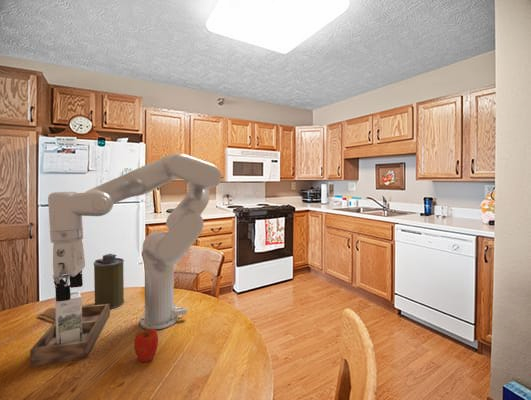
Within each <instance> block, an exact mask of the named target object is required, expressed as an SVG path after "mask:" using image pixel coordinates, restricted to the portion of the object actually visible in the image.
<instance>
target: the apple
mask: <svg viewBox="0 0 531 400" xmlns="http://www.w3.org/2000/svg"><path fill="white" fill-rule="evenodd" d="M133 339H134V340H133V347H134V353H135V355H136V358H137V359H138V360H139V361H141V362H143V363H147V362H150V361H151V360H153V359H154V357H155V356H156V353H157V349H158V344H159V335H158V332H157V331H156V329H155V330H152V329H145V330H142V331H140V332H138V333H136V335H135V337H134V338H133Z"/></svg>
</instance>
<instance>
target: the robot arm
mask: <svg viewBox="0 0 531 400" xmlns="http://www.w3.org/2000/svg"><path fill="white" fill-rule="evenodd" d="M222 175H223V174H222V172H221V169H219V167H217V165H215V164H212V163H210V162H207V161H204V160H201V159H198V158H196V157H194V156H191V155H188V154H186V153H179V152H178V153H173V154H168V155H165V156H162V157H161V158H158V159H156V160H154V161H151V162H149V163H147V164H144V165H143V166H140V167H138V168H136V169H134V170H131V171H129V172H126V173H124V174H123V175H120V176H118V177H116V178H113V179H111V180H109V181H107V182H104V183H102V184H100V185H98V186H95V187H92V188H91V189H88V190H86V191H85V192H76V191H57V192H56V191H55V192H51V193H50V194H48V196H47V204H48V205H47V206H48V218H49V219H48V221H49V235H50V236H49V237H50V240H49V241H50V243H51V244H53V245H52V246H53V247H52V271H53V273H52V278H53V284H54V288H55V295H56V301H66V300H70V298H71V296H70V292H71V289H72V288H81V287H83V283H84V282H83V269H85V266H86V263H85V253H84V252H85V250H84V244H83V239H84V235H83V234H84V230H83V217H102V216H105V215H107V214H109V213H110V212H111V211H112V209H113V207H114V205H115V204H117V203H119V202H121V201H124V200H126V199H129V198H133V197H138V196H143V195H145V194H149V193H151V192H152V191H154V190H157V189H158V188H160V187H162V186H164V185H165V184H168V183H170V182H173V181H174V180H176V179H177V180H183V181H185V182H187V183H188V192H187V194H186V195H185V197H183V199H182V200H181V201H180V203H179V204H178V205H177V206H176V207H175V208H174V209H173V210H172V212H171V213H170V214H169V215H168V216H167V218H166V220H165V225H166V228H167V229H168V231H167V232H164V231H153V232H151V233H149V234H148V235H147V236H146V237H145V239H144V241H143V243H142V256H143V265H144V266H143V267H144V315H143V316H141V317H140V320H139V325H140V327H141V328H143V329H145V330H148V329H152V330H155V331H156V330H161V329H165V328H168V327H171V326H172V325H174V324H176V323H177V322H178V320H179V316H181V315H182V316H183V315H187V314H188V309H187V308H184V306H178V307H177V306H175V305H176V304H175V303H174V301H175V300H174V298H175V297H174V290H175V289H174V288H175V286H174V285H175V284H174V282H175V281H174V280H175V278H174V277H175V272H174V269H175V268H174V267H175V266H174V264H176V263H178V262H179V261H180V260H181V259H183V257H184V256H185V254H186V253H187V252H188V251H189V249H190V248H191V247H192V246H193V245H194V243H195V242H196V241H197V239H198V238H199V237H200V235H201V233H202V231H203V229H204V219H203V217H202V213H203V212H204V211H205V209H206V208H207V206H208V204H209V200H210V189H213V188H216V187H218V186H219V185H220V183H221V181H222V178H223V176H222ZM64 279H65V280H64Z"/></svg>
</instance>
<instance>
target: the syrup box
mask: <svg viewBox="0 0 531 400" xmlns="http://www.w3.org/2000/svg"><path fill="white" fill-rule="evenodd" d="M70 296H71V298H70V300H66V301H56V294H55V295H54V301H55V302H54V303H55V304H54V308H55V312H56V343H57V344H64V343H72V342H79V341H82V306H83V298H82V296H81V293H80V291H79V290H73V291H70Z"/></svg>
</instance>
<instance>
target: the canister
mask: <svg viewBox="0 0 531 400" xmlns="http://www.w3.org/2000/svg"><path fill="white" fill-rule="evenodd" d="M124 262H125V260H124V259H123V258H119V257H117V254H114V253H113V254H112V253H107V254H104V255H102V258H99V259H95V260H94V262H93V272H94V273H93V277H94V279H93V280H94V281H93V282H94V285H93V286H94V287H93V288H94V305H102V304H110V310H113V309H116V308H120V307H121V306H122V305H123V304H124V303H125V299H124V297H125V296H124V295H125V292H124V289H125V287H124Z"/></svg>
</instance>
